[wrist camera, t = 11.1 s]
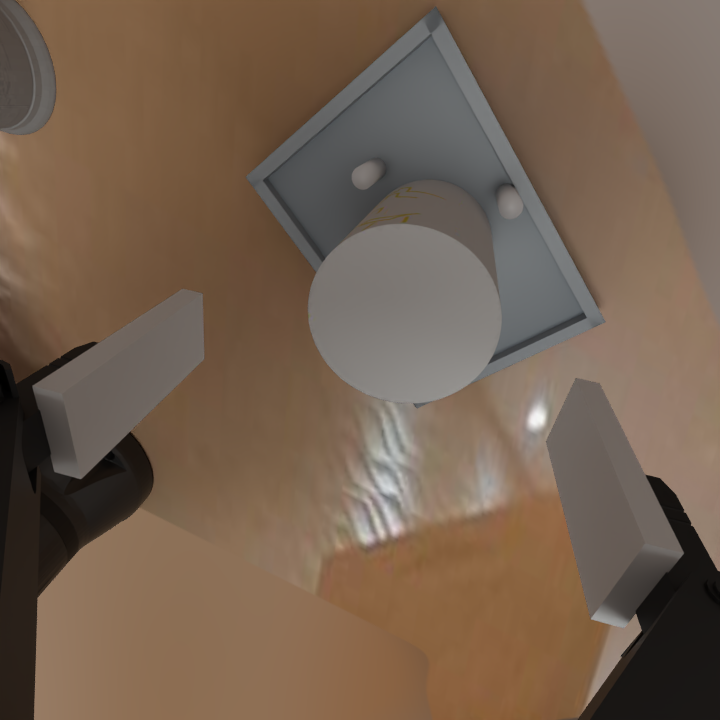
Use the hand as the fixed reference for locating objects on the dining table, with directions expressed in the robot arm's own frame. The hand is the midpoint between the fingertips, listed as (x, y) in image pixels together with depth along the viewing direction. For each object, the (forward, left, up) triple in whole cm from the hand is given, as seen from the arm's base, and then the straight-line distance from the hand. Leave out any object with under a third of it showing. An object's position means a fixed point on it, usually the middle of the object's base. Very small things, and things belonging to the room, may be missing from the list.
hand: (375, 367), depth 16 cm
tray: (0, 0, -17) cm, 17 cm away
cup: (0, 0, -16) cm, 16 cm away
